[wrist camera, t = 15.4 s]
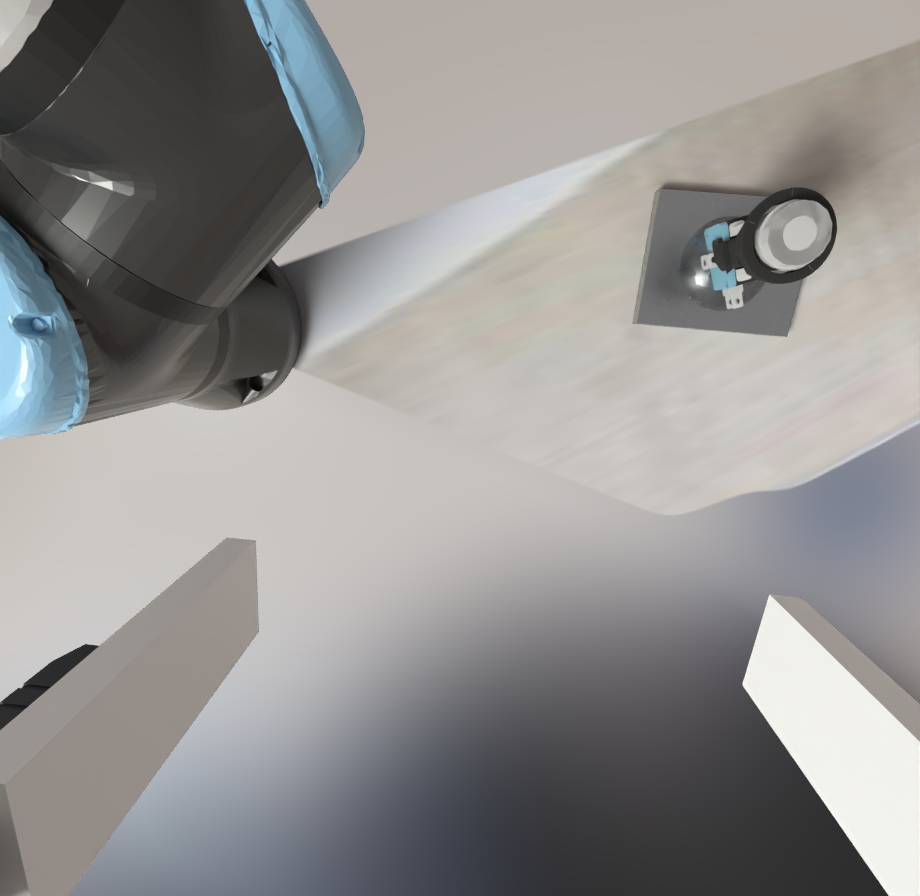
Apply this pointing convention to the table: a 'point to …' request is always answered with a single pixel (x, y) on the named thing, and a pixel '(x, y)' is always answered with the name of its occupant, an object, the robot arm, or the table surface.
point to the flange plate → (689, 287)
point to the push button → (771, 242)
